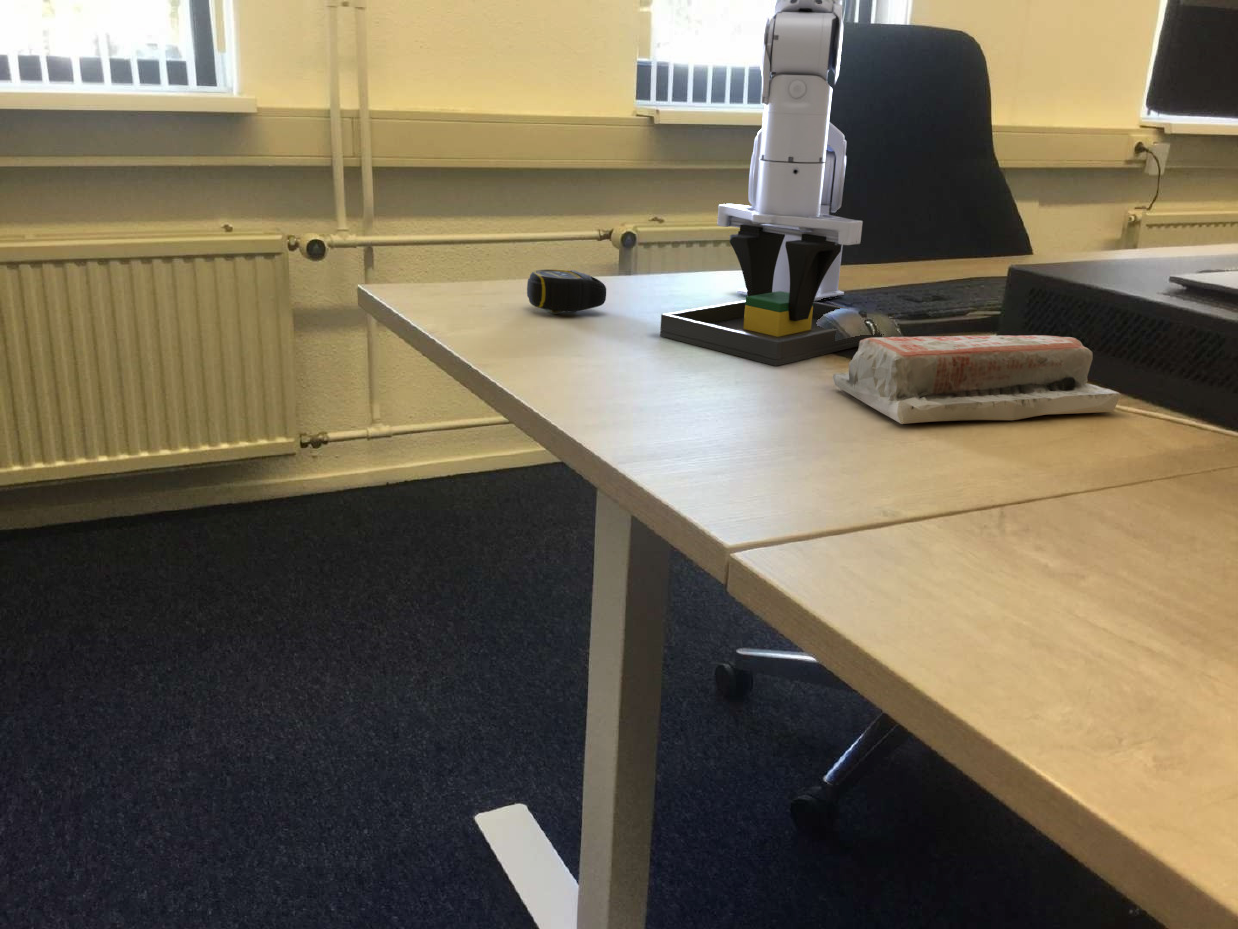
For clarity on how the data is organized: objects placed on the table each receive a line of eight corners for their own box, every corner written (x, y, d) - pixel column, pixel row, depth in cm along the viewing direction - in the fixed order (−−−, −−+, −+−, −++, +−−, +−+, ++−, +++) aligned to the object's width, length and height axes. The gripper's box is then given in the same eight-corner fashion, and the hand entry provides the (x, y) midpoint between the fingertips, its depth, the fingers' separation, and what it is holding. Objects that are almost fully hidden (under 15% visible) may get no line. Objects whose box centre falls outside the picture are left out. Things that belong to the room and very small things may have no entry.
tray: (777, 314, 105) (779, 294, 104) (891, 338, 96) (893, 317, 96) (659, 335, 94) (660, 314, 93) (775, 366, 85) (778, 342, 84)
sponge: (776, 322, 99) (779, 290, 98) (811, 330, 96) (814, 297, 95) (743, 328, 96) (745, 296, 95) (777, 337, 93) (780, 303, 92)
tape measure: (608, 315, 101) (610, 277, 100) (544, 320, 98) (545, 280, 97) (577, 302, 107) (578, 266, 106) (516, 306, 104) (516, 268, 103)
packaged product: (909, 358, 68) (836, 326, 77) (900, 428, 70) (830, 389, 79) (1132, 349, 73) (1040, 319, 82) (1119, 415, 75) (1030, 379, 84)
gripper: (699, 155, 93) (690, 306, 98) (834, 168, 83) (817, 334, 88) (749, 154, 98) (738, 298, 102) (882, 166, 88) (864, 324, 93)
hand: (778, 314), depth 95 cm, fingers closed on sponge, 4 cm apart
